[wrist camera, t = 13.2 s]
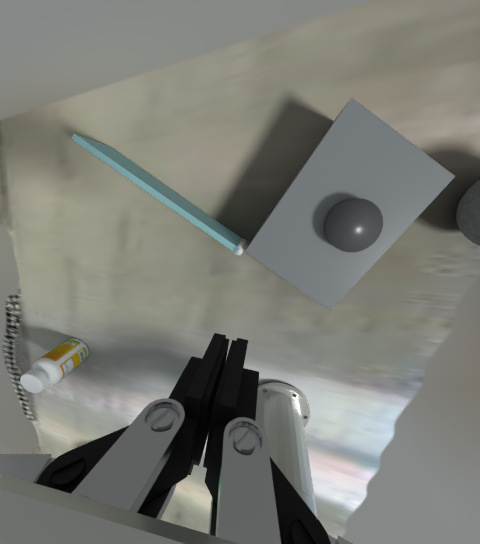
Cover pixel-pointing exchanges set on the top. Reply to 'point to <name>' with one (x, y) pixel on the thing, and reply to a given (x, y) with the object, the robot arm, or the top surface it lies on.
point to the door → (163, 193)
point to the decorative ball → (470, 213)
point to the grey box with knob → (347, 205)
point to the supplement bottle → (54, 365)
